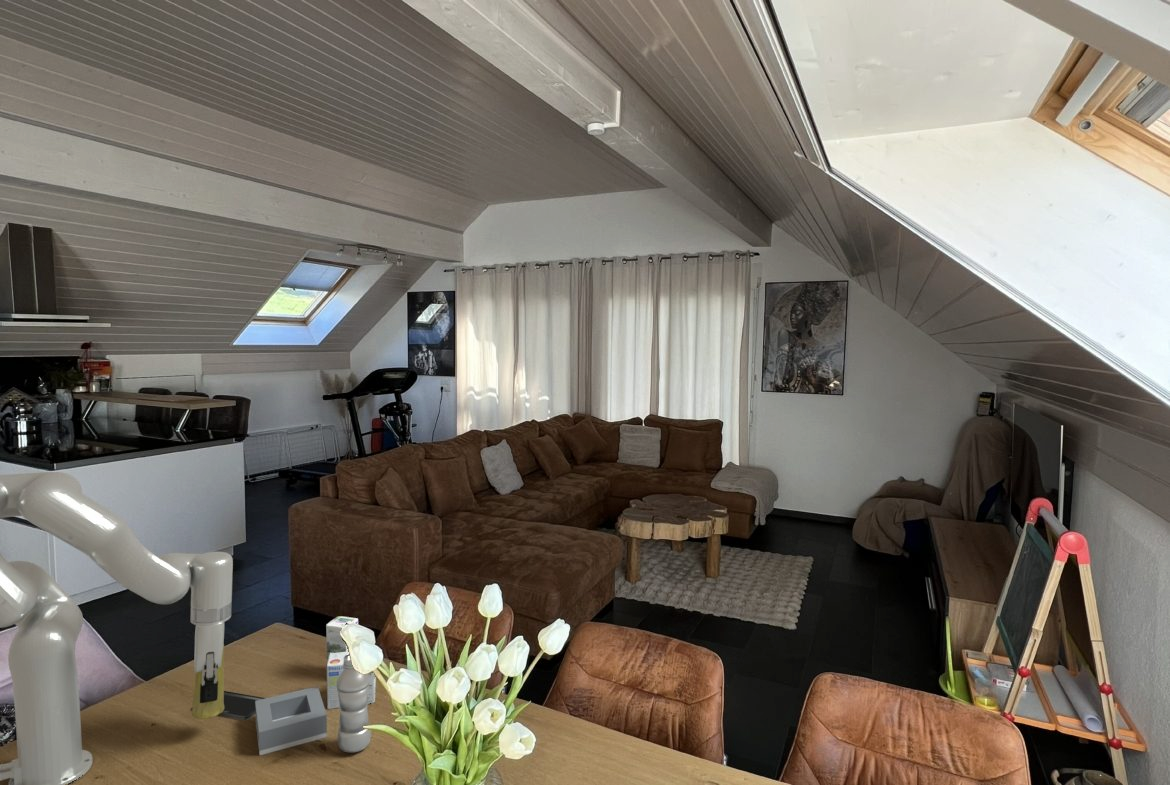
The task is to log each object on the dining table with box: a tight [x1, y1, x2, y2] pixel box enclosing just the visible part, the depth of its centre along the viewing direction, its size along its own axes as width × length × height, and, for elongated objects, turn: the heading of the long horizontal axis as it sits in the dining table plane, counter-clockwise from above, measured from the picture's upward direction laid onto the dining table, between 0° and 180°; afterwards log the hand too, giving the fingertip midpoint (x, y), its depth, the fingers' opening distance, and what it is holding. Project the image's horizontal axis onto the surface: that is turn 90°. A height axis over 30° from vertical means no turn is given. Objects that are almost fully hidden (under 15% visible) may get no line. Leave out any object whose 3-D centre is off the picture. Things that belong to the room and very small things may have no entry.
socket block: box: [255, 685, 328, 756], centre depth 142 cm, size 13×13×5 cm
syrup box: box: [325, 615, 359, 664], centre depth 164 cm, size 6×6×14 cm
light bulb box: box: [326, 651, 377, 710], centre depth 154 cm, size 11×7×11 cm, turn 106°
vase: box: [191, 643, 225, 720], centre depth 139 cm, size 6×6×14 cm
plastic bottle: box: [336, 654, 372, 754], centre depth 136 cm, size 6×7×20 cm
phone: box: [216, 690, 266, 721], centre depth 150 cm, size 8×1×15 cm
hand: (208, 693), depth 139 cm, fingers closed on vase, 5 cm apart
